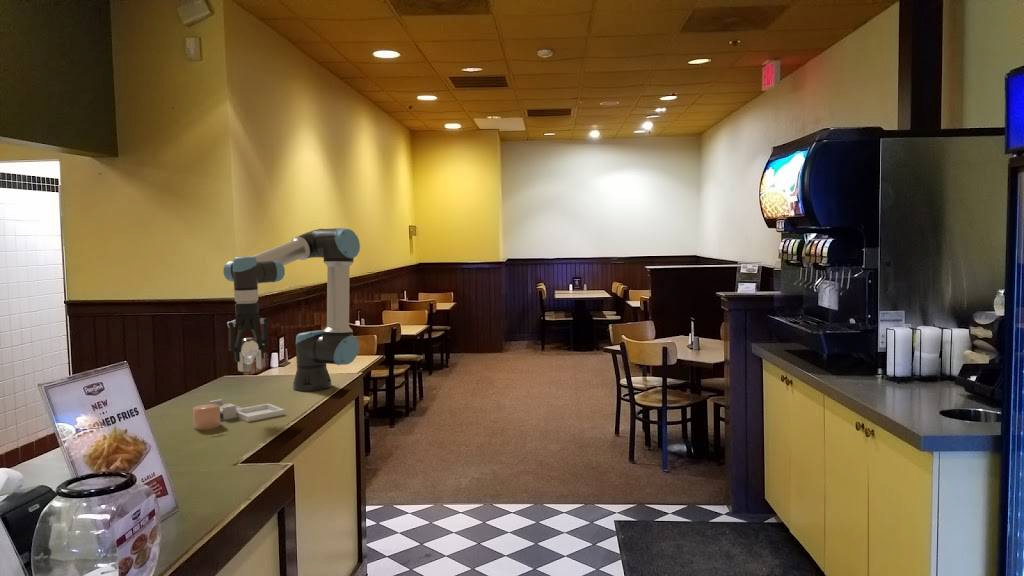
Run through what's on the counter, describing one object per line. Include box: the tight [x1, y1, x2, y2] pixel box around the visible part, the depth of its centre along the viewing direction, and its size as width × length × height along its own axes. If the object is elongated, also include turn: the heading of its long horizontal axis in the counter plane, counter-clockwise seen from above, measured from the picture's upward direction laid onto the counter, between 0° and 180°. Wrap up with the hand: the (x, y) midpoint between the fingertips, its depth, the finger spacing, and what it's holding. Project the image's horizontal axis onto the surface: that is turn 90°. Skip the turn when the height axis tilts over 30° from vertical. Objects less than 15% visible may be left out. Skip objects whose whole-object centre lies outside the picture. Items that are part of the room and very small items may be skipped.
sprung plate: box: [220, 403, 242, 414], centre depth 243 cm, size 9×9×1 cm
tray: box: [237, 403, 286, 423], centre depth 243 cm, size 13×13×2 cm
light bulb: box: [240, 337, 259, 374], centre depth 242 cm, size 7×7×12 cm
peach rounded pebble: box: [192, 403, 222, 431], centre depth 229 cm, size 8×8×7 cm
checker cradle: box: [208, 398, 239, 422], centre depth 243 cm, size 10×14×5 cm
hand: (249, 369), depth 242 cm, fingers closed on light bulb, 6 cm apart
